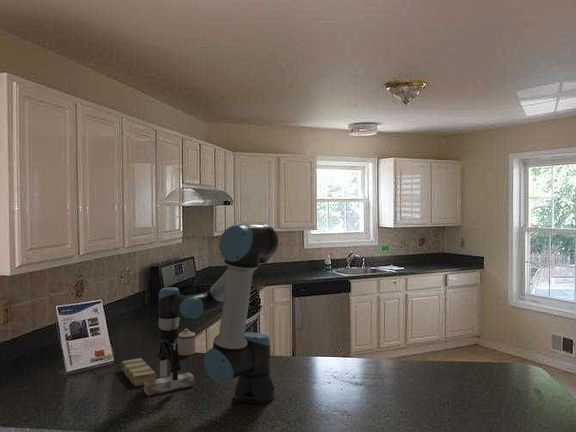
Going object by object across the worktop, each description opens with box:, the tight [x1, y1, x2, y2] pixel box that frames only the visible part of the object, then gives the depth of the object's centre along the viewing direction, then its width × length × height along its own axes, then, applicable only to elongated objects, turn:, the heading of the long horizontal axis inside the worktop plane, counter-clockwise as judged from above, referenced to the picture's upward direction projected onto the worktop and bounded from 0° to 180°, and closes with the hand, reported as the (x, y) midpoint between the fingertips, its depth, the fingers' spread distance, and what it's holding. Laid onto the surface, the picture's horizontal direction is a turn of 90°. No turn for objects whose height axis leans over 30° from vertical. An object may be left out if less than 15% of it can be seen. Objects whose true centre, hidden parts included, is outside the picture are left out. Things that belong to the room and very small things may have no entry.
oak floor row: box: [121, 357, 158, 387], centre depth 193 cm, size 22×9×4 cm, turn 32°
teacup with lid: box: [174, 328, 197, 356], centre depth 225 cm, size 12×9×12 cm
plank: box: [143, 372, 195, 396], centre depth 179 cm, size 18×5×4 cm, turn 123°
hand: (168, 382), depth 180 cm, fingers open, 13 cm apart
